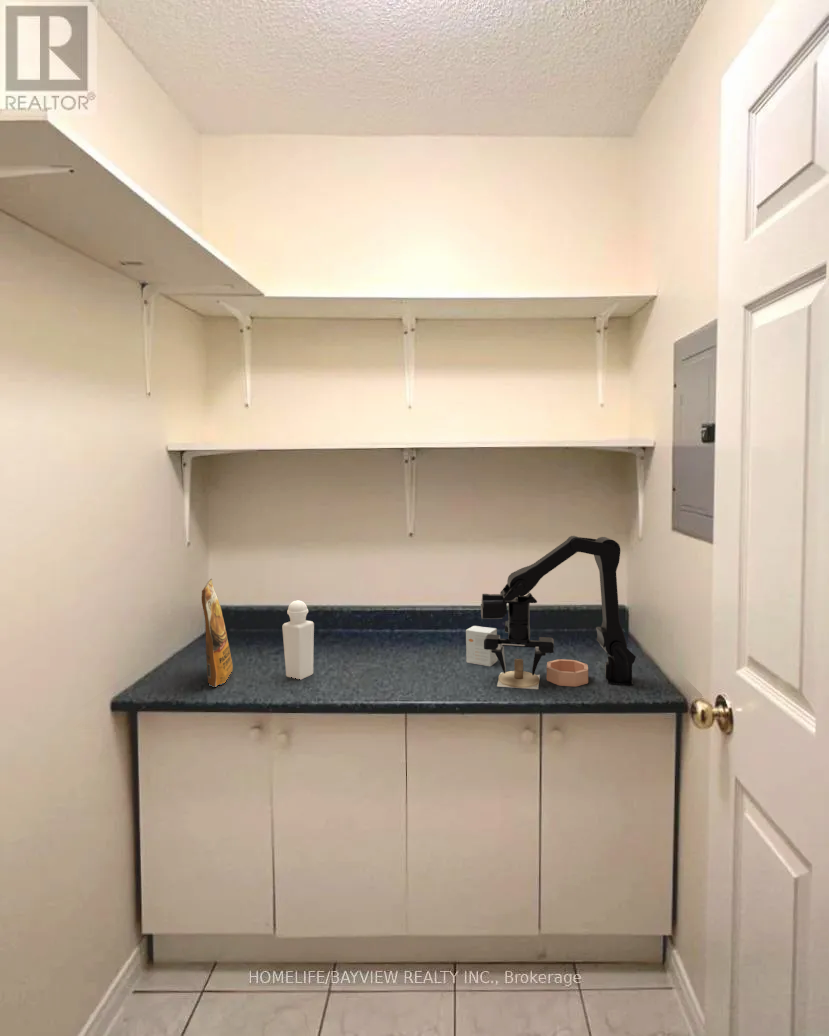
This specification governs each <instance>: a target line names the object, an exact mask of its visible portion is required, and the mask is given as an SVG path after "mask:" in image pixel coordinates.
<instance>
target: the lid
mask: <svg viewBox="0 0 829 1036" xmlns="http://www.w3.org/2000/svg"><path fill="white" fill-rule="evenodd" d="M513 663H514V669H513V670H510V671H506V673H504V672H502V674H500V673H499V675H498V680H499V682H500V683H502V684H504V685H506V686H510V687H509V688H512V687H516V688H517V689H526V688H527V687H532V686H535V685H537V684H538V683H539V684H540V678H539V677H538V676H537V675H538V674H536V673H534V675H532V672H529V671H525V670H524V659H522V658H514V662H513ZM516 688H515V689H516Z"/></svg>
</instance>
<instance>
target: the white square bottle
mask: <svg viewBox="0 0 829 1036" xmlns="http://www.w3.org/2000/svg"><path fill="white" fill-rule="evenodd" d="M286 613H287V615H288V616H289V620H290V621H288V622H284V623H283V624H282V627H281V628H282V639H283V653H284V665H285V677H286V678H291V677H292V678H291V679H295V678H296V679H297V680H299V679H300V681H301V680H303V679H305V678H308V677H310V676H312V675H313V674H314V647H315V646H314V641H315V640H314V639H315V638H314V637H315V636H314V635H315V634H314V633H315V623H314V622H313V621H312V620H307V615H308V613H309V609H308V606H307V604H306V603H305V602H304V601H303V600H299V599H298V600H293V601H291V602H290V604H289V605H288V607H287V612H286ZM296 679H295V680H296Z"/></svg>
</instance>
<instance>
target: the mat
mask: <svg viewBox="0 0 829 1036" xmlns="http://www.w3.org/2000/svg"><path fill="white" fill-rule="evenodd" d="M502 673H503V671H502V672H500V673H499V675H500V674H502ZM536 675H537V676H538V677H539V679H540V678H541V674H536ZM539 686H540V682H539V683H538V684H537V685H535V686H532V687H527V688H525V689H527V690H539ZM496 687H499V688H500V687H502V688H513V689H516V687H510V686H506V685H504V684H502V683H500V682H499V679H498V680H497V685H496Z"/></svg>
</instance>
